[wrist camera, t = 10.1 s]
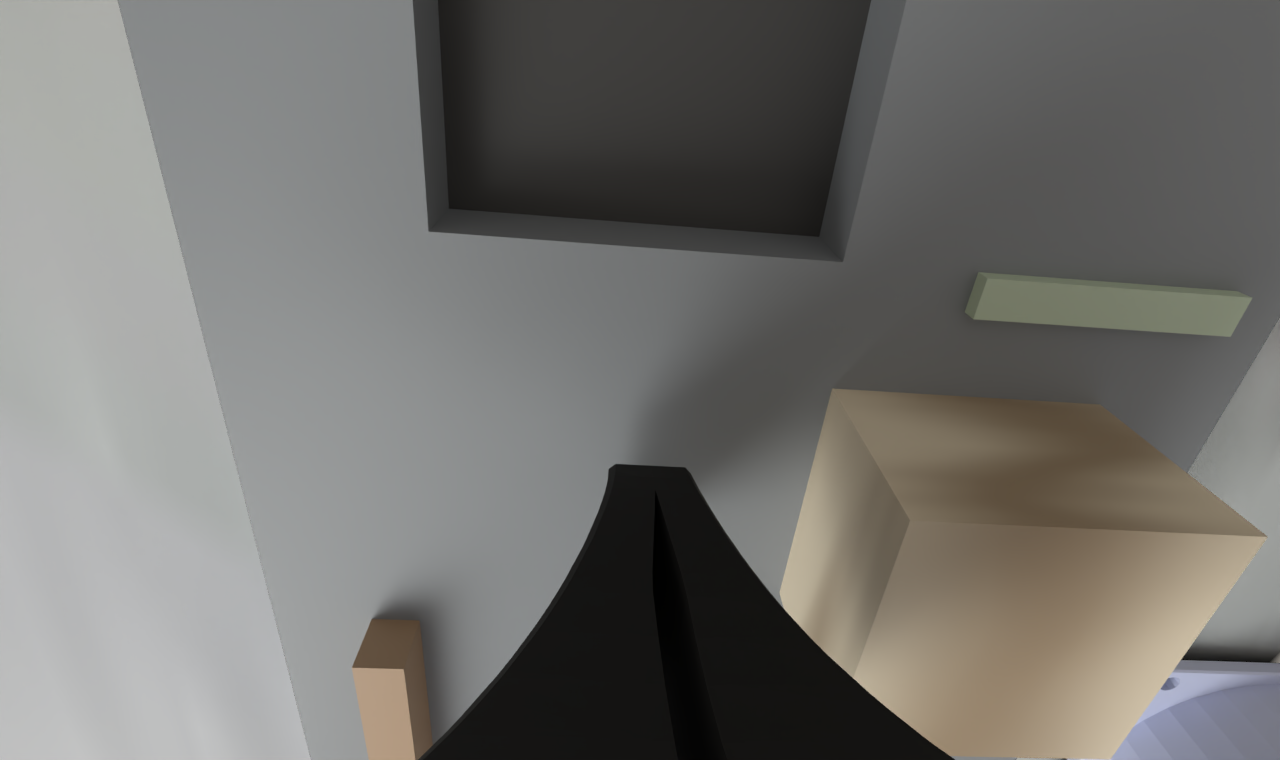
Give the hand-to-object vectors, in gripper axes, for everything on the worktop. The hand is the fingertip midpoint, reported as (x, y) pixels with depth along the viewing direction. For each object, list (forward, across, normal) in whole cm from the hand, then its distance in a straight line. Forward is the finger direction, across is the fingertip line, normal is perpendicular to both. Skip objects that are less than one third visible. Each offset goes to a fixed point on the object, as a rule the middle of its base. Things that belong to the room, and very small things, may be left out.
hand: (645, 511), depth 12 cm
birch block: (+1, -6, 0) cm, 6 cm away
